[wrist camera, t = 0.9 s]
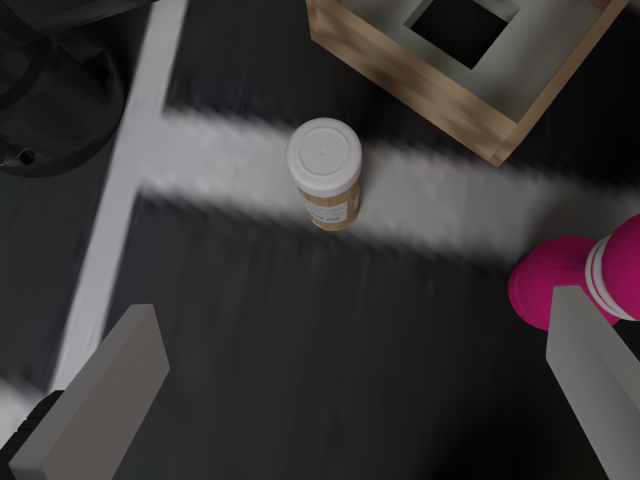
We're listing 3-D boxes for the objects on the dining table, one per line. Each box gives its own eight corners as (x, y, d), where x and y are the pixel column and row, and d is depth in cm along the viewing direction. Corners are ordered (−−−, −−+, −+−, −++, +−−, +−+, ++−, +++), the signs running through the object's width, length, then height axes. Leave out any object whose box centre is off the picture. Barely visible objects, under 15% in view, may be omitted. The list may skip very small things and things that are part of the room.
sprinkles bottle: (369, 197, 43) (377, 138, 29) (341, 242, 42) (336, 204, 29) (323, 170, 43) (311, 101, 30) (295, 214, 43) (269, 164, 30)
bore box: (311, 38, 45) (305, -4, 40) (418, -89, 47) (427, -149, 41) (497, 168, 42) (521, 142, 36) (604, 27, 44) (644, -20, 38)
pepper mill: (543, 228, 41) (717, 138, 22) (613, 291, 40) (865, 256, 20) (482, 290, 41) (604, 256, 21) (551, 355, 40) (749, 384, 20)
